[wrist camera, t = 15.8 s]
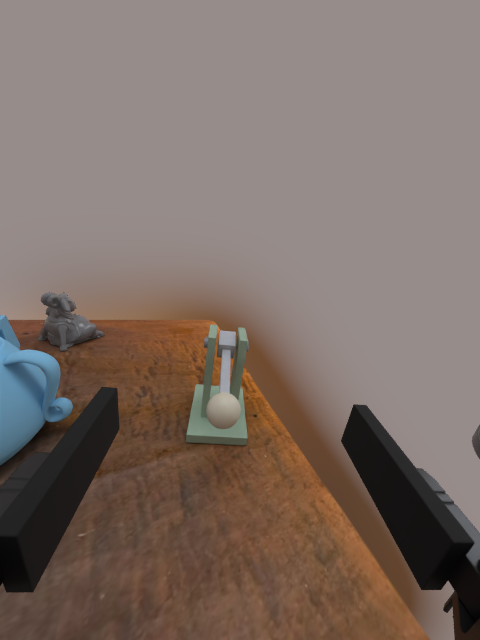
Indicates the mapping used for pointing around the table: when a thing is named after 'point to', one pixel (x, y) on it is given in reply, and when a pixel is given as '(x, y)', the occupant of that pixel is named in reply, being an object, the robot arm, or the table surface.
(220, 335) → the knob lever
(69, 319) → the figurine
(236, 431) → the green lever stand
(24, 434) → the teapot
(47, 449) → the table surface
